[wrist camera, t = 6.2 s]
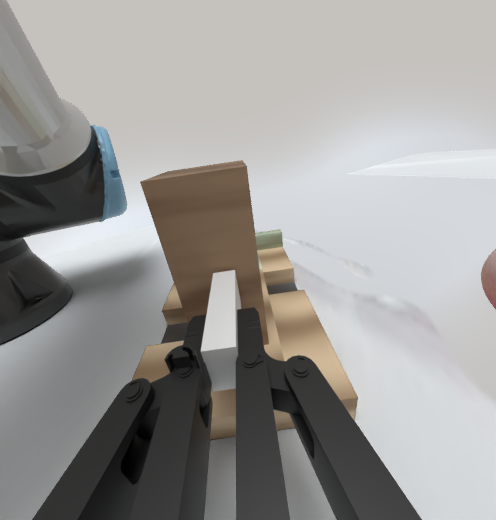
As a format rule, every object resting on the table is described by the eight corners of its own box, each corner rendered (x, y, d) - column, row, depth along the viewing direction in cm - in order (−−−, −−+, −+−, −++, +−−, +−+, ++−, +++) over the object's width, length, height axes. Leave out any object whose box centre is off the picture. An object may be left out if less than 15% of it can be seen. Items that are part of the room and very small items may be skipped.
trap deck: (354, 419, 15) (361, 371, 13) (123, 452, 15) (91, 410, 13) (282, 257, 38) (280, 229, 36) (188, 271, 38) (180, 244, 36)
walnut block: (269, 344, 19) (246, 166, 12) (198, 354, 19) (140, 181, 12) (260, 300, 24) (242, 160, 18) (205, 308, 24) (167, 171, 18)
